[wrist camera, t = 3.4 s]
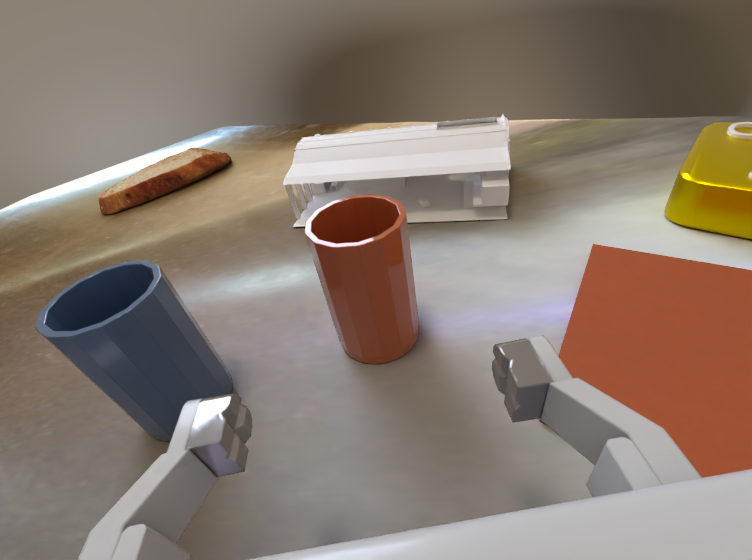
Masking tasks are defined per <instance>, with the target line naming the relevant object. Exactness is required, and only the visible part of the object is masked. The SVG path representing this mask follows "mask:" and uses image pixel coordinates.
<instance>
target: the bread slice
mask: <svg viewBox="0 0 752 560" xmlns="http://www.w3.org/2000/svg"><path fill="white" fill-rule="evenodd" d="M229 161H231V157H230V156H229V155H228V154H227V153H221V152H215V151H211V150H207V149H199V148H191V149H188V150H186V151H184V152H182V153H179V154H177V155H174V156H170V157H167V158H166V159H164V160H161V161H159V162H157V163H156V164H153V165H150V166H148V167H146V168H144V169H142V170H141V171H139V172H138V173H136V174H134V175H132V176H130V177H128V178H126V179H124V180H123V181H121V182H119V183H117V184H116V185H114V186H113V187H112V188H110V189H108V190H107V191H105V192H104V193H103V194H102V195H101V196H100V197H99V205H100V209H101V213H104V214H113V213H117V212H119V211H122V210H124V209H128V208H131V207H133V206H136V205H140V204H142V203H144V202H147V201H150V200H152V199H154V198H157V197H159V196H162V195H165V194H167V193H169V192H172V191H175V190H177V189H179V188H181V187H183V186H186V185H188V184H190V183H192V182H195V181H198V180H199V179H201V178H203V177H206V176H208V175H210V174H211V173H212V172H215V171H217V170H219V169H221V168H223V167H224V166H225V165H227V164H228V163H229Z"/></svg>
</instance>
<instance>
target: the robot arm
mask: <svg viewBox="0 0 752 560" xmlns="http://www.w3.org/2000/svg"><path fill="white" fill-rule="evenodd" d="M493 353H494V356H495V359H494V360H493V361H492V371H493V377H494V380H495V383H496V385H497V388H498V390H499V391H500V392H501V393H503V394H504V395H505V400H504V404H505V406H506V408H507V411H508V413H509V415H510V417H511V420H512V422H520V421H526V420H533V419H539V418H541V420H542V421H543V422H544V423H545V424H546V425H547V426H549V427H550V428H551V429H552V430H553V431H555V432H556V433H557V434H558V435H559V436H561V437H562V438H563V439H564V440H565V441H567V442H568V443H569V444H570V445H571V446H572V447H574V448H575V449H576V450H577V451H578V452H580V453H581V454H582V455H583V456H584V457H586V458H587V459H588V460H589V461H590V462H592V463H593V464H594V465H595V467H594V469H593V471H592V473H591V475H590V477H589V479H588V481H587V484H586V485H587V487H588V489H589V491H590V493H591V495H592V497H593V498H587V499H582V500H576V501H571V502H565V503H560V504H554V505H548V506H543V507H537V508H532V509H526V510H521V511H515V512H509V513H504V514H498V515H493V516H487V517H482V518H476V519H470V520H465V521H459V522H454V523H448V524H443V525H437V526H431V527H426V528H420V529H415V530H409V531H404V532H398V533H393V534H387V535H381V536H376V537H370V538H365V539H359V540H354V541H348V542H343V543H337V544H331V545H326V546H320V547H315V548H309V549H304V550H298V551H293V552H287V553H281V554H276V555H270V556H265V557H259V558H254V559H248V560H752V469H749V470H743V471H738V472H732V473H727V474H721V475H715V476H710V477H704V478H702V477H701V476H700V474H699V473H698V472H697V471H696V469H695V468H694V467H693V465H692V464H691V463H690V462H689V460H688V459H687V458H686V456H685V455H684V454H683V453H682V451H681V450H680V449H679V447H678V446H677V445H676V444H675V442H674V441H673V440H672V438H671V437H670V436H669V435H668V433H667V432H666V431H665V429H664V428H662V427H660V426H659V425H657V424H655V423H654V422H652V421H650V420H649V419H647V418H645V417H644V416H642V415H640V414H639V413H637V412H635V411H633V410H632V409H630V408H628V407H627V406H625V405H623V404H622V403H620V402H618V401H617V400H615V399H613V398H611V397H610V396H608V395H606V394H605V393H603V392H601V391H600V390H598V389H596V388H595V387H593V386H591V385H590V384H588V383H586V382H584V381H583V380H581V379H579V378H573V377H572V376H571V374H570V373H569V371H568V370H567V368H566V367H565V365H564V364H563V362H562V361H561V359H560V358H559V356H558V355H557V353H556V351H555V350H554V348H553V347H552V345H551V344H550V342H549V341H548V339H547V338H546V337H545V336H538V337H533V338H527V339H520V340H515V341H510V342H505V343H500V344H495V345H494V347H493ZM251 432H252V417H251V413H250V411H249V409H248V408H247V407H246V406H244V405H242V404H241V397H240V396H239V395H238V393H233V394H227V395H220V396H214V397H208V398H202V399H196V400H190V401H187V402H186V403H185V404H184V406H183V408H182V410H181V413H180V416H179V419H178V422H177V424H176V427H175V430H174V433H173V436H172V439H171V441H170V444H169V447H168V450H167V453H164V454H161V455H160V456H159V457H158V458H157V460H156V461H155V462H154V463H153V464H152V465H151V466H150V467H149V468H148V469H147V470H146V472H145V473H144V474H143V475H142V476H141V477H140V478H139V479H138V480H137V481H136V482H135V483H134V485H133V486H132V487H131V488H130V489H129V490H128V491H127V492H126V493H125V494H124V495H123V497H122V498H121V499H120V500H119V501H118V502H117V503H116V504H115V505H114V506H113V507H112V508H111V510H110V511H109V512H108V513H107V514H106V515H105V516H104V517H103V518H102V519H101V520H100V521H99V523H98V524H97V525H96V526H95V527H94V528H93V529H92V530H91V531H90V533H89V535H88V538H87V540H86V542H85V544H84V547H83V549H82V551H81V553H80V556H79V558H78V560H190V555H189V553H188V552H187V551H186V550H184V549H183V548H181V547H180V546H178V545H176V543H177V541H178V540H179V538H180V537H181V535H182V533H183V532H184V530H185V529H186V527H187V526H188V524H189V523H190V521H191V520H192V518H193V517H194V515H195V513H196V512H197V510H198V509H199V507H200V506H201V504H202V503H203V501H204V500H205V498H206V496H207V495H208V493H209V492H210V490H211V489H212V487H213V486H214V484H215V483H216V481H217V480H218V478H217V477H221V476H225V475H230V474H235V473H240V472H244V471H245V467H246V461H247V456H248V448H247V447H246V445H245V443H246V442H247V440H248V439H249V438H250V437H251Z"/></svg>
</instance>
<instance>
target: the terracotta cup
mask: <svg viewBox="0 0 752 560" xmlns="http://www.w3.org/2000/svg"><path fill="white" fill-rule="evenodd" d="M305 236H306V239H307V242H308V245H309V248H310V251H311V255H312V258H313V261H314V264H315V267H316V270H317V273H318V276H319V279H320V282H321V285H322V288H323V292H324V295H325V298H326V301H327V304H328V307H329V310H330V313H331V316H332V319H333V322H334V325H335V328H336V332H337V335H338V338H339V341H340V342H341V344H342V347H343V349H344V350H345V352H346V353H347V354H348V355H349V356H351V357H352V358H354V359H356V360H357V361H360V362H364V363H369V364H380V363H386V362H390V361H393V360H395V359H398V358H400V357H401V356H403V355H404V354H406V353H407V352H408V351H409V350H410V349H411V348H412V347H413V345H414V344H415V342H416V340H417V337H418V333H419V321H418V312H417V303H416V294H415V286H414V277H413V268H412V259H411V250H410V242H409V233H408V224H407V215H406V212H405V209H404V206H403V204H402V203H401V202H399V201H397V200H395V199H394V198H392V197H389V196H383V195H376V194H366V195H355V196H349V197H346V198H343V199H339V200H336V201H333V202H330V203H329V204H327V205H325V206H323V207H322V208H320V209H318V210H316V211H315V212H314V213H313V214H312V216H311V217H310V218H309V219H308V220H307V221H306V225H305Z"/></svg>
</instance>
